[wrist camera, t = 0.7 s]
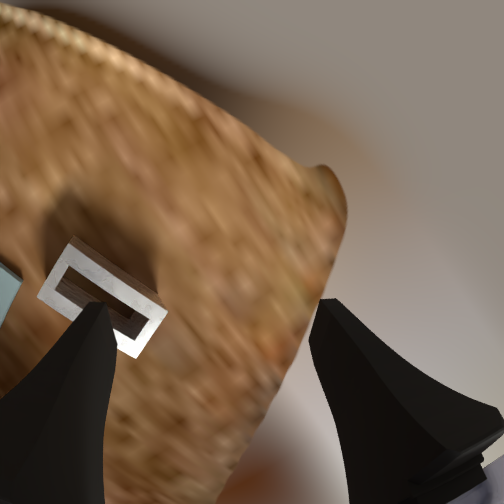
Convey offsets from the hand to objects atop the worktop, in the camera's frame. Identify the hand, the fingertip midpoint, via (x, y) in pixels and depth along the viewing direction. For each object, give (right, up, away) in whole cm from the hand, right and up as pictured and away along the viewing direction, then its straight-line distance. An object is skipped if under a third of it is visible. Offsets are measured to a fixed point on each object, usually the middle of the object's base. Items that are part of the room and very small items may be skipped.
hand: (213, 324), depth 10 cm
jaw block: (-13, -1, +17) cm, 21 cm away
